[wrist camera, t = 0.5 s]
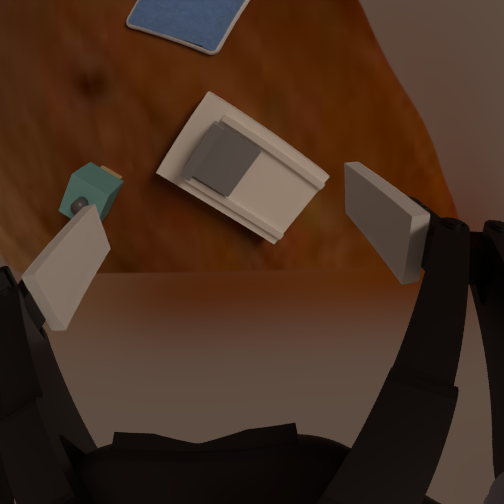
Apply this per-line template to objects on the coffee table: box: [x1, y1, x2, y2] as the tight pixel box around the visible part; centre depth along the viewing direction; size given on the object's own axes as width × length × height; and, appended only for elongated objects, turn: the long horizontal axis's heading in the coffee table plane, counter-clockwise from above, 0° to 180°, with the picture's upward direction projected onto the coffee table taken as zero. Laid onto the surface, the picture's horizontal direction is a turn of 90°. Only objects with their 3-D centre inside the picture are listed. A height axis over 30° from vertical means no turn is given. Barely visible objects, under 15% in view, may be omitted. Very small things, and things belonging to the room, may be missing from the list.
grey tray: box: [156, 92, 330, 244], centre depth 35 cm, size 17×11×4 cm, turn 55°
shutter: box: [180, 121, 261, 197], centre depth 32 cm, size 6×6×3 cm
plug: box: [59, 162, 124, 222], centre depth 32 cm, size 5×5×10 cm
